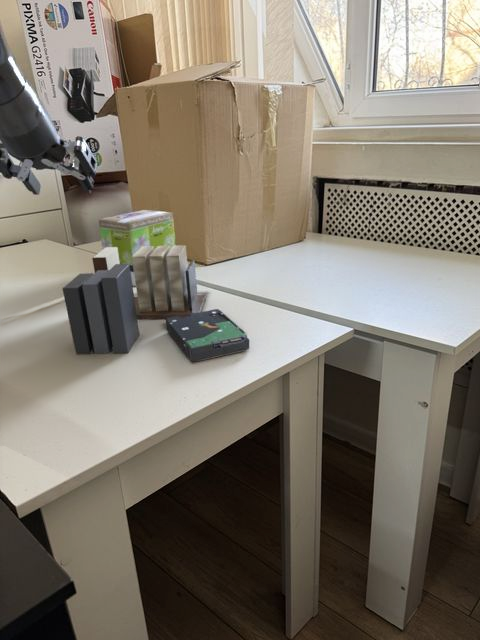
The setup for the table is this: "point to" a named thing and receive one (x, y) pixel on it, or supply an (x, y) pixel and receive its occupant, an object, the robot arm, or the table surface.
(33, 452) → the table surface
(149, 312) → the stone tile rack
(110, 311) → the grey books
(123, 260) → the tea box
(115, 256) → the white book
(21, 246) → the table surface
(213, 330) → the disk drive
